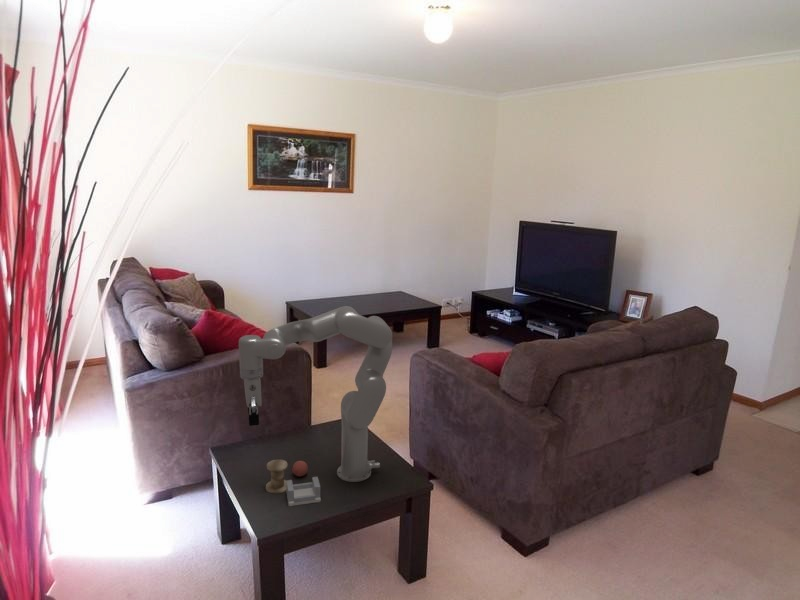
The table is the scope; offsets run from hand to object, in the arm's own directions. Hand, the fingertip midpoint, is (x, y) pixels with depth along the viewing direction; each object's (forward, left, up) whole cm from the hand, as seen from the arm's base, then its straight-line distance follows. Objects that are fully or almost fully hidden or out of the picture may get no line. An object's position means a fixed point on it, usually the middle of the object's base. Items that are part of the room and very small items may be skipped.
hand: (253, 418), depth 186 cm
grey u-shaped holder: (-15, +12, -25) cm, 32 cm away
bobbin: (-7, +4, -25) cm, 26 cm away
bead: (-16, -2, -25) cm, 29 cm away
